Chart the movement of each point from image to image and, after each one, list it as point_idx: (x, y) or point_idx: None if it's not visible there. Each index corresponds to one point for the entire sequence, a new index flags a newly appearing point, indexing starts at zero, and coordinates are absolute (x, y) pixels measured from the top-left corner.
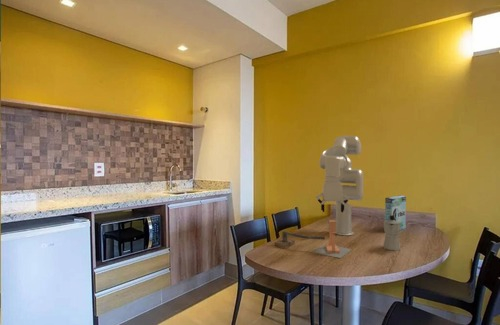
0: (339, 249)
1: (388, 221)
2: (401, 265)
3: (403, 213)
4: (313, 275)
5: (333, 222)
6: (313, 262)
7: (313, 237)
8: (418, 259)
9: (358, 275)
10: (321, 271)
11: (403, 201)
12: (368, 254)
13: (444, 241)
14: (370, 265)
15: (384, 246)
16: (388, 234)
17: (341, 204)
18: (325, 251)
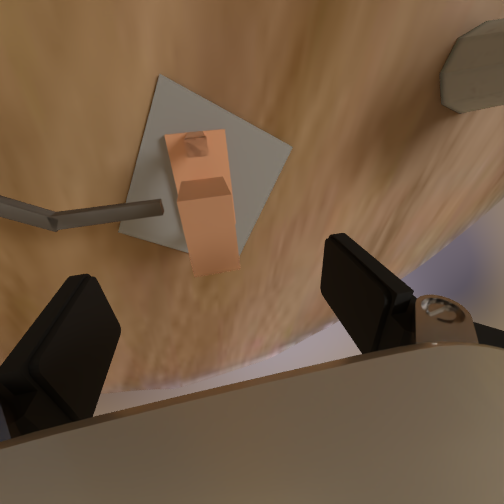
0: (236, 166)
1: None
2: (391, 264)
3: None
4: (166, 384)
5: (220, 270)
6: (149, 320)
7: (94, 223)
8: (469, 200)
9: (267, 351)
10: (182, 362)
11: None
12: (340, 191)
13: None
14: (311, 289)
15: (449, 78)
16: None
17: (384, 321)
18: (175, 212)
